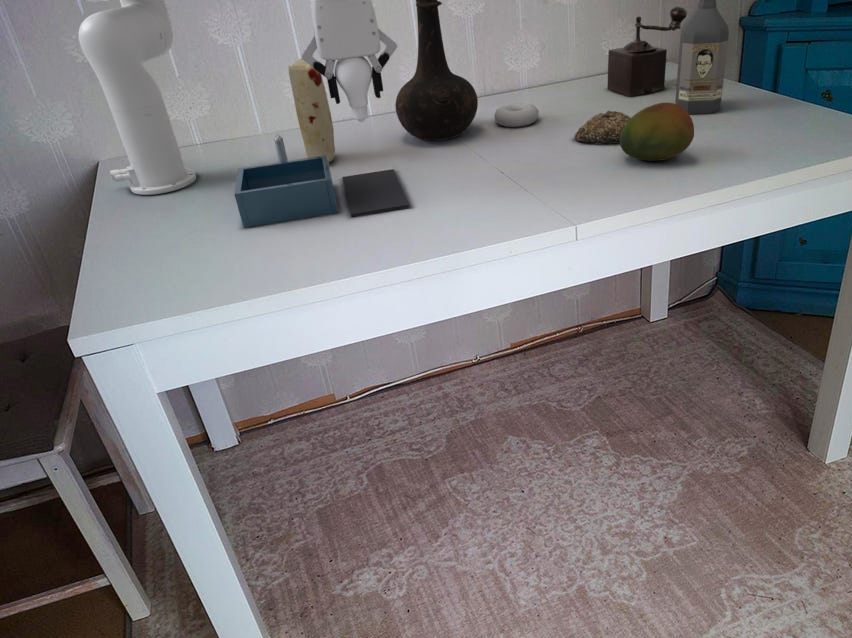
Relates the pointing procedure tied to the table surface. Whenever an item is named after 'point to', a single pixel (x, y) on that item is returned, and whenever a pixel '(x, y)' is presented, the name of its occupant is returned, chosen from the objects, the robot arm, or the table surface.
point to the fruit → (657, 132)
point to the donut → (516, 114)
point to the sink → (285, 189)
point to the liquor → (702, 60)
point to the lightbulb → (355, 84)
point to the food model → (312, 110)
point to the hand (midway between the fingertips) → (357, 98)
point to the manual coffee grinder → (641, 61)
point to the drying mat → (374, 193)
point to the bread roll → (603, 128)
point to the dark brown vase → (434, 86)
